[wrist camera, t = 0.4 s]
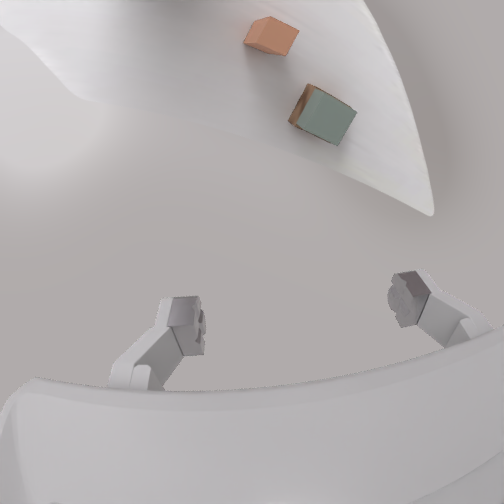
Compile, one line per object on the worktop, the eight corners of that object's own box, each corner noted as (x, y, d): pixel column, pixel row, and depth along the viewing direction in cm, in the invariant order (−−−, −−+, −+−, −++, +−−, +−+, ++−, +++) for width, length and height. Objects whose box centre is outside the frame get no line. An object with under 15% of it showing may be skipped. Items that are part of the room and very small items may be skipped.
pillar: (254, 21, 37) (270, 16, 30) (279, 32, 39) (299, 30, 32) (242, 43, 40) (256, 42, 33) (267, 53, 42) (285, 56, 35)
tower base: (307, 83, 48) (316, 86, 45) (341, 102, 52) (351, 107, 49) (287, 120, 53) (294, 126, 50) (322, 136, 56) (330, 143, 54)
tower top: (315, 88, 45) (324, 92, 42) (346, 106, 48) (357, 112, 46) (296, 123, 49) (303, 129, 46) (328, 139, 53) (337, 146, 50)
